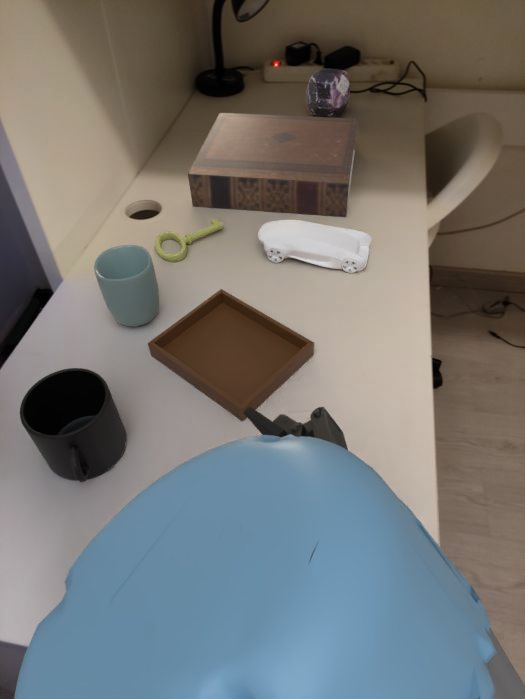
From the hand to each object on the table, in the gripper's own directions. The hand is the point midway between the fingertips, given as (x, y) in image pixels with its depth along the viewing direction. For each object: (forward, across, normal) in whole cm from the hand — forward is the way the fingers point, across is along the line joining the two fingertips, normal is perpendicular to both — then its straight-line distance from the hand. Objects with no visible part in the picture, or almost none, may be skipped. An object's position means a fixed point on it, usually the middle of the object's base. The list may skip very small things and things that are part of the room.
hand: (194, 479), depth 43 cm
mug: (+24, -8, -1) cm, 26 cm away
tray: (+29, +13, -5) cm, 32 cm away
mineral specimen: (+75, +73, +5) cm, 104 cm away
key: (+51, +23, +6) cm, 56 cm away
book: (+60, +48, +4) cm, 76 cm away
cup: (+41, +8, +5) cm, 42 cm away
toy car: (+40, +36, -6) cm, 54 cm away
